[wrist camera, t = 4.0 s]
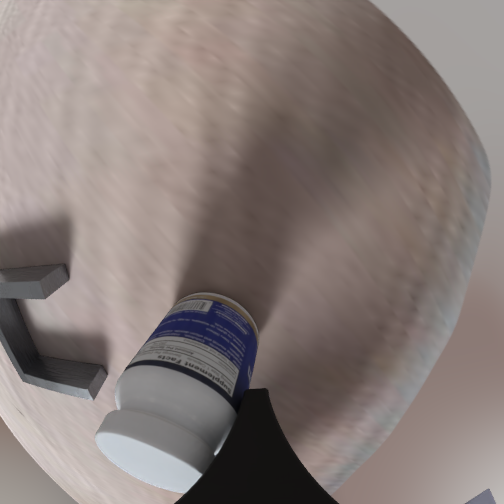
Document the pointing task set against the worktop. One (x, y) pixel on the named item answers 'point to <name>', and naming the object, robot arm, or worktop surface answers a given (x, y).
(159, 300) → the worktop surface
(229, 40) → the worktop surface
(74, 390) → the metal u-channel bracket
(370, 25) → the worktop surface
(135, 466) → the pill bottle
